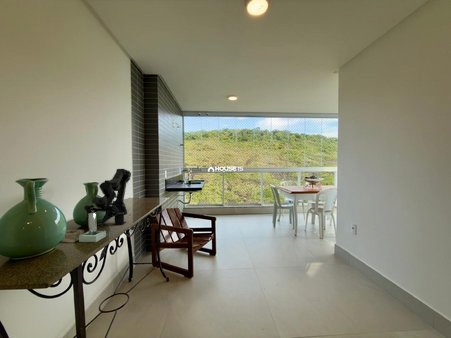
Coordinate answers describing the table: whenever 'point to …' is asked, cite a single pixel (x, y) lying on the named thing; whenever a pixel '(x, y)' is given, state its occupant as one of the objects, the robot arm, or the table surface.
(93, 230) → the axle
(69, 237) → the brown square frame
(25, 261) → the table surface
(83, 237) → the socket block
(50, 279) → the table surface
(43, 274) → the table surface
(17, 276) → the table surface
